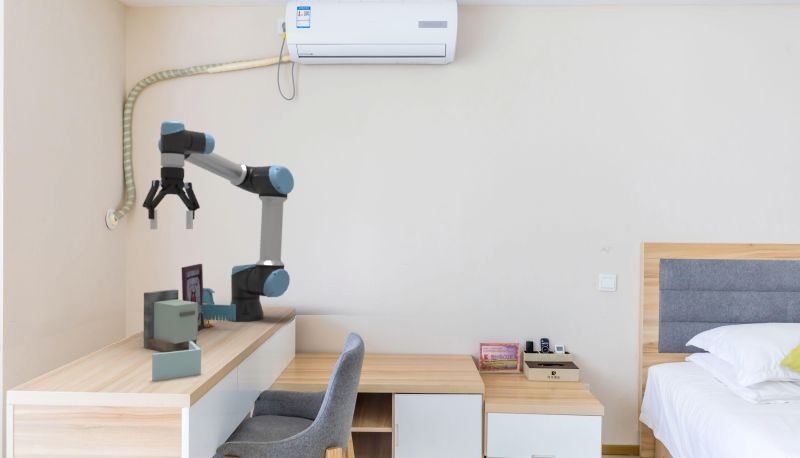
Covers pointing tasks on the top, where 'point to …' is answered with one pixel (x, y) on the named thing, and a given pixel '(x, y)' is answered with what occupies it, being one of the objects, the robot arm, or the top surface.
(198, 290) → the picture frame
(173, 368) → the l-shaped corner panel
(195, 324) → the cabinet box
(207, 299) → the blue toy animal
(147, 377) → the top surface
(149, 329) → the grey bookend
